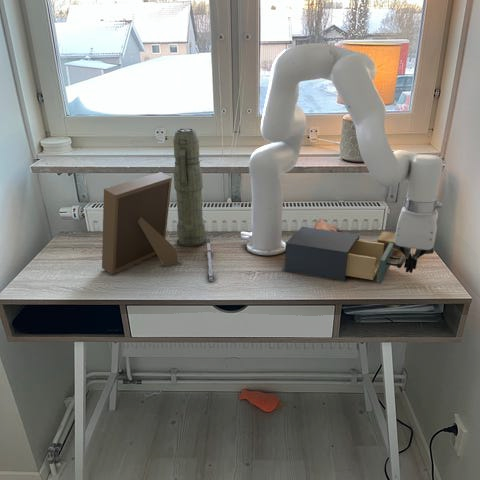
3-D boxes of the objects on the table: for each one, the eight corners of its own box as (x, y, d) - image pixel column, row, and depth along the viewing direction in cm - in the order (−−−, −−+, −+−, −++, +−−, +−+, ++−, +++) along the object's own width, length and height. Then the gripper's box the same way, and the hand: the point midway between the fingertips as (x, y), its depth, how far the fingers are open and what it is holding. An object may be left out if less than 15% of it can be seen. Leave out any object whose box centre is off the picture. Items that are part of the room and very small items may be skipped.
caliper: (206, 253, 162) (206, 234, 159) (210, 253, 163) (209, 234, 159) (209, 281, 145) (208, 260, 142) (213, 281, 145) (212, 260, 142)
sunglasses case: (339, 247, 164) (329, 229, 162) (319, 257, 167) (309, 239, 165) (339, 228, 180) (331, 211, 177) (321, 237, 182) (312, 221, 180)
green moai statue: (175, 247, 167) (167, 133, 149) (180, 234, 177) (173, 126, 160) (203, 248, 166) (198, 133, 149) (206, 234, 177) (202, 126, 159)
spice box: (375, 256, 159) (377, 239, 157) (380, 247, 166) (382, 231, 163) (391, 259, 158) (394, 242, 155) (396, 249, 164) (399, 233, 161)
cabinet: (356, 261, 156) (359, 234, 152) (344, 281, 145) (347, 252, 140) (300, 252, 162) (302, 226, 158) (284, 270, 151) (285, 242, 147)
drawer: (404, 267, 150) (408, 245, 147) (396, 286, 139) (400, 263, 136) (335, 256, 157) (337, 235, 154) (322, 273, 147) (324, 251, 143)
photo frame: (102, 271, 152) (89, 185, 139) (154, 247, 167) (146, 169, 154) (138, 283, 144) (128, 194, 132) (189, 258, 159) (184, 176, 147)
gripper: (452, 204, 134) (439, 269, 143) (393, 198, 139) (384, 261, 149) (449, 213, 128) (436, 280, 137) (388, 206, 134) (379, 271, 143)
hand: (409, 270), depth 143 cm, fingers closed
